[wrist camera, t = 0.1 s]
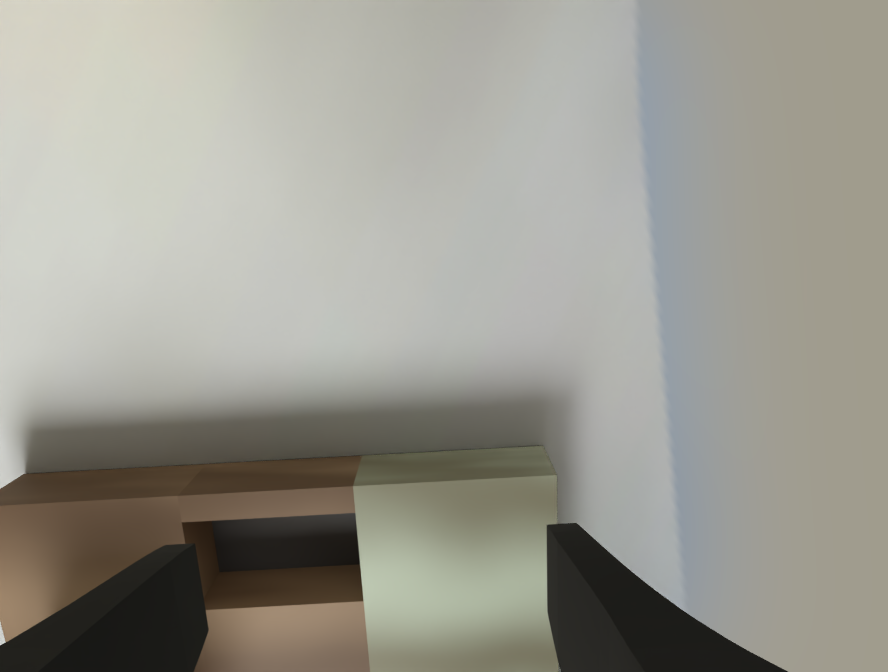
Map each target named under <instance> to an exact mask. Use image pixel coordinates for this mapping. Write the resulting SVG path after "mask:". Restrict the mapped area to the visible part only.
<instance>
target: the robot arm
mask: <svg viewBox="0 0 888 672" xmlns="http://www.w3.org/2000/svg"><path fill="white" fill-rule="evenodd" d="M547 613H548V617H549V622H550V627H551V632H552V637H553V641H554V646H555V650H556V654H557V659H558V663H559V666H560V669H561V672H787V671H786V670H784V669H782V668H780V667H778V666H776V665H774V664H772V663H770V662H768V661H766V660H764V659H763V658H761V657H758V656H757V655H755V654H753V653H751V652H749V651H747V650H746V649H744V648H742V647H740V646H739V645H737V644H735V643H733V642H732V641H730V640H728V639H726V638H725V637H723V636H722V635H720V634H719V633H717V632H715V631H714V630H712V629H710V628H709V627H707V626H706V625H704V624H702V623H701V622H699V621H698V620H696V619H695V618H693V617H692V616H690V615H689V614H687V613H686V612H684V611H683V610H681V609H680V608H678V607H677V606H676V605H674V604H673V603H672V602H670V601H669V600H668V599H666V598H665V597H663V596H662V595H661V594H659V593H658V592H657V591H655V590H654V589H653V588H651V587H650V586H649V585H648V584H646V583H645V582H644V581H642V580H641V579H640V578H639V577H638V576H636V575H635V574H634V573H633V572H631V571H630V570H629V569H628V568H627V567H625V566H624V565H623V564H622V563H621V562H620V561H618V560H617V559H616V558H615V557H614V556H613V555H611V554H610V553H609V552H608V551H607V550H606V549H605V548H604V547H602V546H601V545H600V544H599V543H598V542H597V541H596V540H595V539H594V538H592V537H591V536H590V535H589V534H588V533H587V532H586V531H585V530H584V529H582V528H581V527H580V526H579V525H578V524H577V523H568V524H549V525H547ZM208 631H209V628H208V622H207V616H206V609H205V603H204V597H203V590H202V584H201V578H200V571H199V565H198V559H197V552H196V546H195V543H192V544H173V545H164V546H162V547H160V548H158V549H156V550H155V551H153V552H151V553H149V554H148V555H146V556H144V557H143V558H141V559H139V560H138V561H136V562H135V563H133V564H131V565H130V566H128V567H127V568H125V569H124V570H122V571H120V572H119V573H117V574H116V575H114V576H113V577H111V578H110V579H108V580H106V581H105V582H103V583H102V584H100V585H99V586H97V587H96V588H94V589H92V590H91V591H89V592H88V593H86V594H85V595H83V596H82V597H80V598H78V599H77V600H75V601H74V602H72V603H71V604H69V605H67V606H66V607H64V608H62V609H61V610H59V611H57V612H56V613H54V614H52V615H51V616H49V617H48V618H46V619H44V620H43V621H41V622H39V623H38V624H36V625H34V626H33V627H31V628H29V629H28V630H26V631H24V632H23V633H21V634H19V635H18V636H16V637H14V638H13V639H11V640H9V641H7V642H6V643H4V644H2V645H0V672H194V670H195V667H196V664H197V662H198V659H199V657H200V654H201V651H202V648H203V645H204V643H205V640H206V637H207V634H208Z"/></svg>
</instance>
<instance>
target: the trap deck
mask: <svg viewBox="0 0 888 672" xmlns="http://www.w3.org/2000/svg"><path fill="white" fill-rule="evenodd" d="M549 524H557V474H556V472H555V470H554V468H553V466H552V464H551V462H550V460H549V457H548V455H547V453H546V451H545V449H544V447H543V446H527V447H509V448H490V449H472V450H454V451H435V452H417V453H399V454H380V455H362V456H344V457H326V458H307V459H289V460H271V461H252V462H234V463H216V464H197V465H179V466H161V467H142V468H124V469H106V470H87V471H69V472H51V473H32V474H23V475H22V476H20V477H19V478H17V479H15V480H14V481H12V482H11V483H9V484H7V485H6V486H4V487H3V488H1V489H0V622H1V626H2V630H3V634H4V637H5V641H6V642H7V641H9V640H11V639H13V638H14V637H16V636H18V635H19V634H21V633H23V632H24V631H26V630H28V629H29V628H31V627H33V626H34V625H36V624H38V623H39V622H41V621H43V620H44V619H46V618H48V617H49V616H51V615H52V614H54V613H56V612H57V611H59V610H61V609H62V608H64V607H66V606H67V605H69V604H71V603H72V602H74V601H75V600H77V599H78V598H80V597H82V596H83V595H85V594H86V593H88V592H89V591H91V590H92V589H94V588H96V587H97V586H99V585H100V584H102V583H103V582H105V581H106V580H108V579H110V578H111V577H113V576H114V575H116V574H117V573H119V572H120V571H122V570H124V569H125V568H127V567H128V566H130V565H131V564H133V563H135V562H136V561H138V560H139V559H141V558H143V557H144V556H146V555H148V554H149V553H151V552H153V551H155V550H156V549H158V548H160V547H162V546H164V545H173V544H192V543H195V546H196V552H197V559H198V565H199V571H200V578H201V584H202V590H203V597H204V603H205V609H206V616H207V622H208V628H209V631H208V634H207V637H206V640H205V643H204V645H203V648H202V651H201V654H200V657H199V659H198V662H197V664H196V667H195V670H194V672H558V659H557V654H556V650H555V646H554V641H553V637H552V632H551V627H550V622H549V617H548V613H547V525H549Z"/></svg>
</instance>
